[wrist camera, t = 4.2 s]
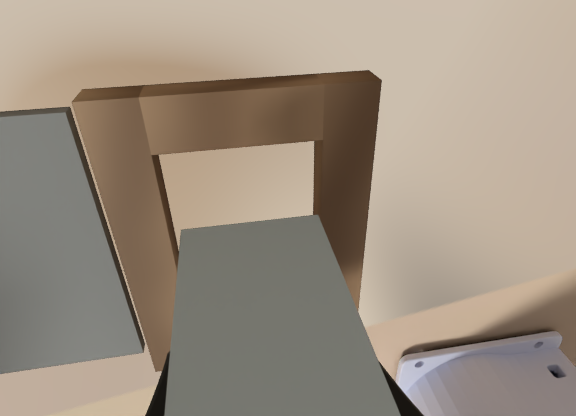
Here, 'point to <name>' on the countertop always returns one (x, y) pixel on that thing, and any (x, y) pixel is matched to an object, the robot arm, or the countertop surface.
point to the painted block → (269, 327)
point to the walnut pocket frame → (221, 135)
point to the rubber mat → (56, 251)
